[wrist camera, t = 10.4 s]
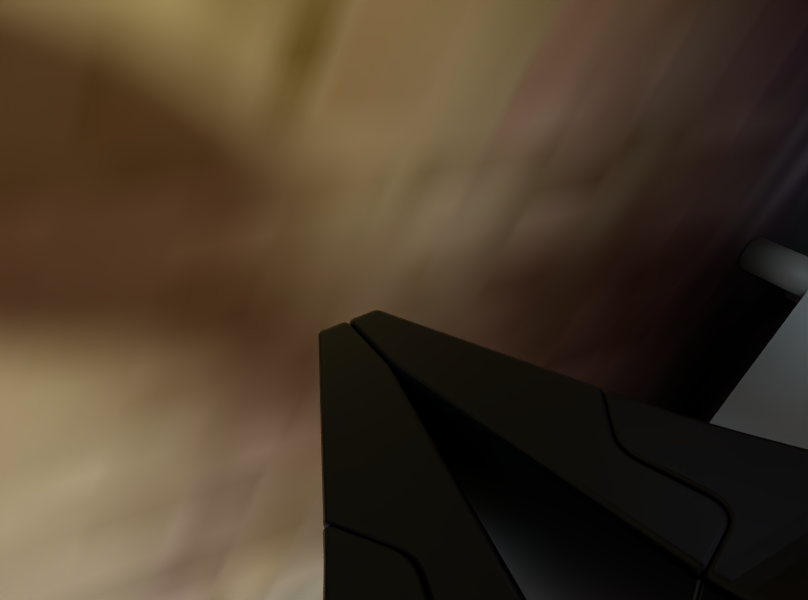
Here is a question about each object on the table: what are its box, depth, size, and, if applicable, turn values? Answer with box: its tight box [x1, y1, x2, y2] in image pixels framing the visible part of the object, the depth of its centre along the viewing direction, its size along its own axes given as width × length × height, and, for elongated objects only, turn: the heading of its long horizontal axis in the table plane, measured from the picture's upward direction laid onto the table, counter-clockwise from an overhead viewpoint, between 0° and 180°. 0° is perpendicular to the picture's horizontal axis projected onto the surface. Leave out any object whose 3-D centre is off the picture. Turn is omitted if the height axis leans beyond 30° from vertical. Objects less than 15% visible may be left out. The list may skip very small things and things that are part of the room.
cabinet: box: [709, 237, 808, 449], centre depth 34 cm, size 9×23×14 cm, turn 149°
